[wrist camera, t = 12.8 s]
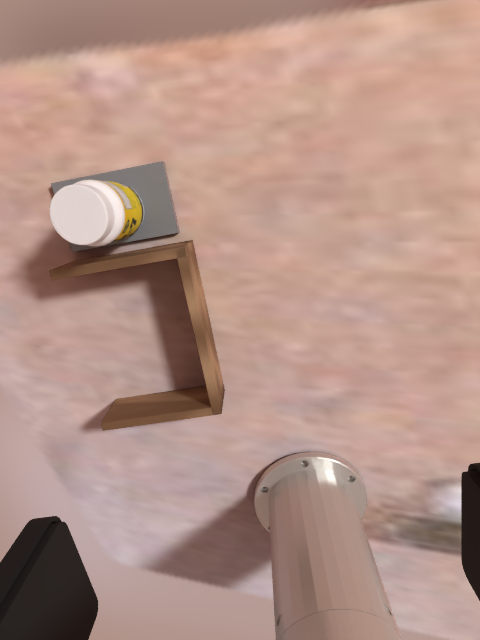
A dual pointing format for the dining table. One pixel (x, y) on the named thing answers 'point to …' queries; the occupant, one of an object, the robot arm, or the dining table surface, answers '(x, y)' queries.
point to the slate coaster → (153, 194)
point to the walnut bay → (212, 394)
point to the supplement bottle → (96, 212)
